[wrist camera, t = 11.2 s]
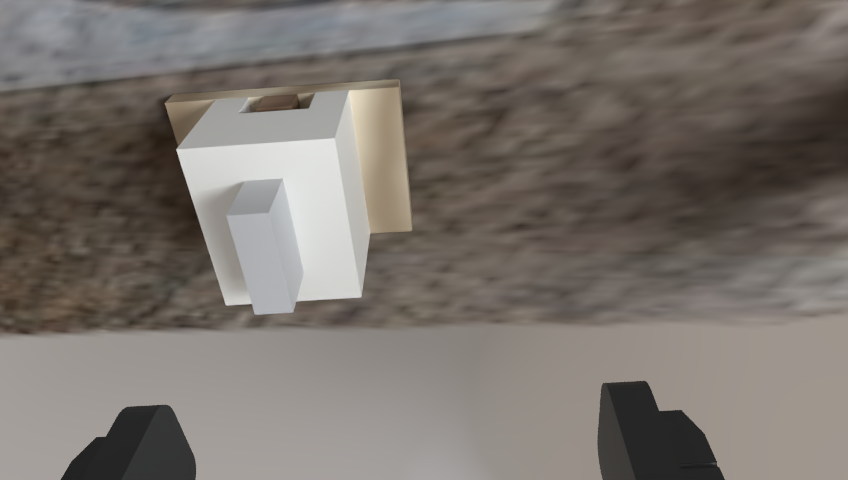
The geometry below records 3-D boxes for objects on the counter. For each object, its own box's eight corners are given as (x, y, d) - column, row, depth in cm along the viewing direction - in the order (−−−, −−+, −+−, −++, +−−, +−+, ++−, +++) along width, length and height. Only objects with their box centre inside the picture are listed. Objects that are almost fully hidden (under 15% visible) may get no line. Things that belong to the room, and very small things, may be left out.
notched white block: (349, 89, 36) (325, 170, 28) (370, 232, 42) (355, 338, 33) (215, 99, 37) (149, 182, 28) (253, 240, 42) (208, 346, 33)
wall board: (399, 78, 38) (397, 99, 35) (412, 219, 43) (411, 247, 40) (173, 94, 38) (152, 115, 35) (214, 231, 44) (199, 259, 41)
